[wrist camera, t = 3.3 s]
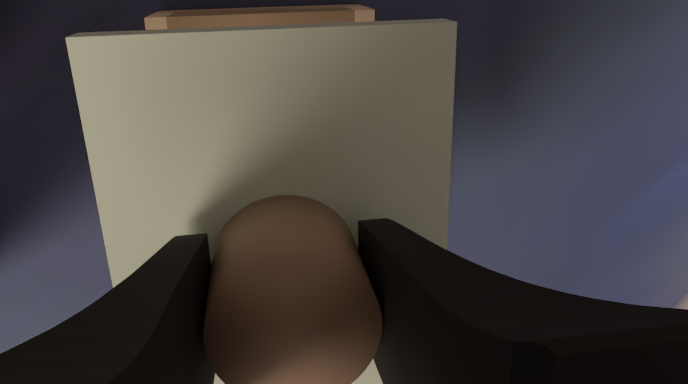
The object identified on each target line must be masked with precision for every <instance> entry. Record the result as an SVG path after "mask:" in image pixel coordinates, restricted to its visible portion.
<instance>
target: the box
mask: <svg viewBox="0 0 688 384" xmlns="http://www.w3.org/2000/svg"><path fill="white" fill-rule="evenodd" d="M368 21H375V9H371V8H368V7H365V6H362V5H359V4H339V5H310V6H281V7H252V8H222V9H194V10H164V11H157V12H155V13H153V14H151V15H149V16H147V17H145V18H144V22H145V29H146V30H161V29H186V28H212V27H238V26H264V25H290V24H316V23H342V22H368Z"/></svg>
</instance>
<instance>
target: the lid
mask: <svg viewBox="0 0 688 384" xmlns="http://www.w3.org/2000/svg"><path fill="white" fill-rule="evenodd" d="M65 39H66V44H67V50H68V55H69V60H70V65H71V71H72V76H73V81H74V86H75V91H76V97H77V102H78V107H79V112H80V118H81V123H82V128H83V133H84V139H85V144H86V149H87V154H88V159H89V165H90V170H91V175H92V180H93V186H94V191H95V196H96V201H97V206H98V212H99V217H100V222H101V227H102V233H103V238H104V243H105V248H106V253H107V259H108V264H109V269H110V274H111V280H112V285H113V288H114V287H115V286H117V285H118V284H119V283H121V282H122V281H123V280H124V279H126V278H127V277H128V276H130V275H131V274H132V273H133V272H134V271H136V270H137V269H138V268H139V267H140V266H141V265H142V264H144V263H145V262H146V261H147V260H148V259H149V258H151V257H152V256H153V255H154V254H155V253H156V252H157V251H158V250H159V249H161V248H162V247H163V246H164V245H165V244H166V243H167V242H169V241H170V240H171V239H172V238H174V237H175V236H181V235H193V234H205V233H207V235H208V244H209V252H210V260H211V272H210V280H209V288H208V295H207V303H206V311H205V319H204V328H203V344H204V349H205V353H206V356H207V359H208V361H209V363H210V365H211V367H212V369H213V370H214V372H215V378H214V384H383V383H382V380H381V378H380V375H379V372H378V370H377V367H376V365H375V362H374V359H373V357H374V356H375V354H376V351H377V349H378V346H379V343H380V339H381V335H382V314H381V310H380V305H379V303H378V300H377V297H376V295H375V292H374V290H373V287H372V285H371V282H370V279H369V277H368V274H367V272H366V269H365V267H364V264H363V261H362V259H361V256H360V254H359V251H358V221H359V220H370V219H382V218H388V219H391V220H393V221H395V222H397V223H399V224H401V225H403V226H404V227H406V228H408V229H410V230H411V231H413V232H415V233H417V234H418V235H420V236H422V237H424V238H426V239H427V240H429V241H431V242H433V243H435V244H436V245H438V246H440V247H442V248H444V249H446V250H447V242H448V220H449V197H450V175H451V152H452V130H453V107H454V85H455V62H456V39H457V22H456V21H452V20H448V19H419V20H393V21H368V22H342V23H316V24H290V25H264V26H238V27H212V28H186V29H161V30H135V31H109V32H83V33H76V34H73V35H70V36H68V37H65Z"/></svg>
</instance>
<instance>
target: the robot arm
mask: <svg viewBox="0 0 688 384" xmlns="http://www.w3.org/2000/svg"><path fill="white" fill-rule="evenodd" d="M358 251H359V254H360V256H361V259H362V261H363V264H364V267H365V269H366V272H367V274H368V277H369V279H370V282H371V285H372V287H373V290H374V292H375V295H376V297H377V300H378V303H379V305H380V310H381V314H382V335H381V339H380V343H379V346H378V349H377V351H376V354H375V356H374V357H373V359H374V362H375V365H376V367H377V370H378V372H379V375H380V378H381V380H382V383H383V384H688V310H685V309H674V308H662V307H651V306H640V305H631V304H624V303H618V302H612V301H605V300H599V299H593V298H588V297H583V296H578V295H573V294H568V293H564V292H560V291H556V290H552V289H548V288H544V287H541V286H537V285H533V284H530V283H527V282H523V281H520V280H517V279H514V278H512V277H509V276H506V275H503V274H500V273H497V272H494V271H492V270H489V269H487V268H484V267H482V266H480V265H477V264H475V263H473V262H471V261H469V260H466V259H464V258H462V257H460V256H458V255H456V254H454V253H452V252H450V251H448V250H446V249H444V248H442V247H440V246H438V245H436V244H435V243H433V242H431V241H429V240H427V239H426V238H424V237H422V236H420V235H418V234H417V233H415V232H413V231H411V230H410V229H408V228H406V227H404V226H403V225H401V224H399V223H397V222H395V221H393V220H391V219H388V218H382V219H370V220H359V221H358ZM210 272H211V260H210V252H209V244H208V235H207V233H205V234H193V235H181V236H175V237H174V238H172V239H171V240H170V241H169V242H167V243H166V244H165V245H164V246H163V247H162V248H161V249H159V250H158V251H157V252H156V253H155V254H154V255H153V256H152V257H151V258H149V259H148V260H147V261H146V262H145V263H144V264H142V265H141V266H140V267H139V268H138V269H137V270H136V271H134V272H133V273H132V274H131V275H130V276H128V277H127V278H126V279H124V280H123V281H122V282H121V283H119V284H118V285H117V286H115V287H114V288H113V289H111V290H110V291H109V292H107V293H106V294H105V295H104V296H102V297H101V298H100V299H98V300H97V301H95V302H94V303H92V304H91V305H89V306H88V307H86V308H85V309H83V310H82V311H80V312H79V313H77V314H75V315H74V316H72V317H70V318H69V319H67V320H65V321H64V322H62V323H60V324H59V325H57V326H55V327H53V328H52V329H50V330H48V331H46V332H44V333H42V334H40V335H38V336H36V337H34V338H32V339H30V340H28V341H26V342H24V343H22V344H20V345H18V346H16V347H14V348H12V349H10V350H8V351H6V352H3V353H1V354H0V384H214V378H215V372H214V370H213V369H212V367H211V365H210V363H209V361H208V359H207V356H206V353H205V349H204V344H203V328H204V319H205V311H206V303H207V295H208V288H209V280H210Z"/></svg>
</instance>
